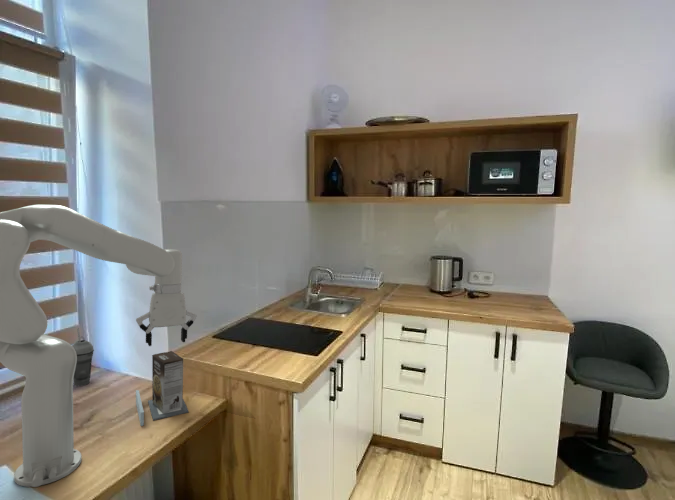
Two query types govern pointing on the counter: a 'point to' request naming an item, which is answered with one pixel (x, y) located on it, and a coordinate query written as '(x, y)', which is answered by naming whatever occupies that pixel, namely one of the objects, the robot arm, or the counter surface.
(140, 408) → the acrylic wall
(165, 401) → the coffee box
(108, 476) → the counter surface
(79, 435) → the counter surface
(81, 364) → the beverage cup
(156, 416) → the mat
